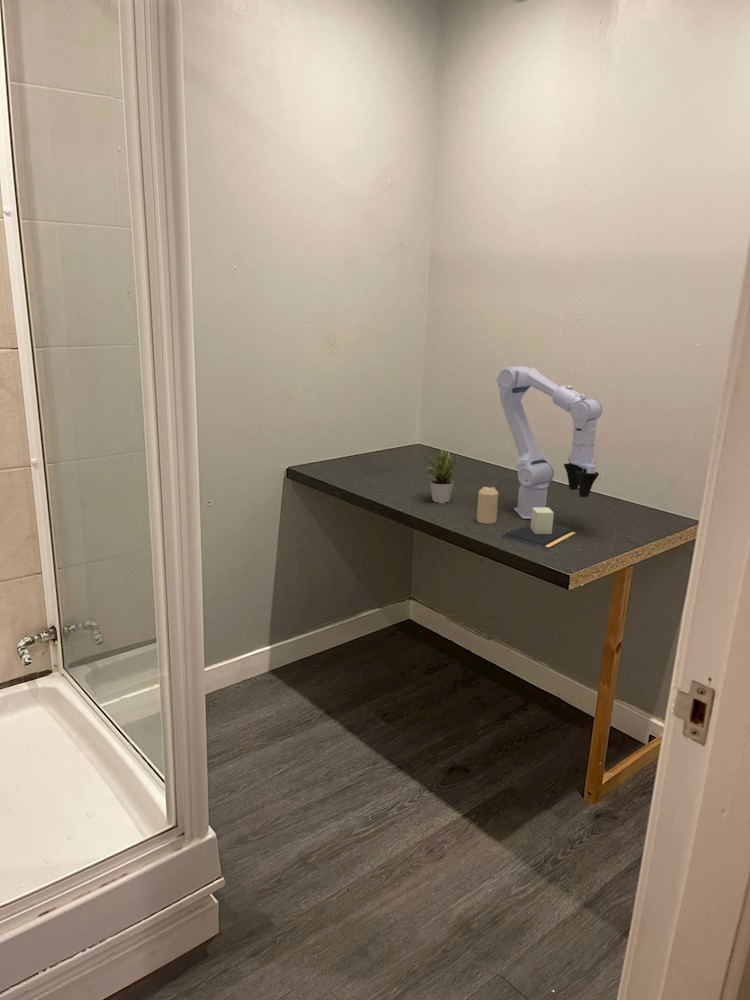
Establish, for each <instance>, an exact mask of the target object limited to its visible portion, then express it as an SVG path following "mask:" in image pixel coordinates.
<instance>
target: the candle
mask: <svg viewBox="0 0 750 1000" xmlns="http://www.w3.org/2000/svg"><path fill="white" fill-rule="evenodd" d="M477 495H478V497H477V512H476V521H477V522H478V523H480V524H483V525H484V524H485V525H492V524H493V525H494V524H495V523H496V522H497V517H498V516H497V514H498V501H499V492H498V490H497V489H496V487H492V486H490V487H488V486H483V487H482V488H481V489H479V490H478V494H477Z"/></svg>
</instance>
